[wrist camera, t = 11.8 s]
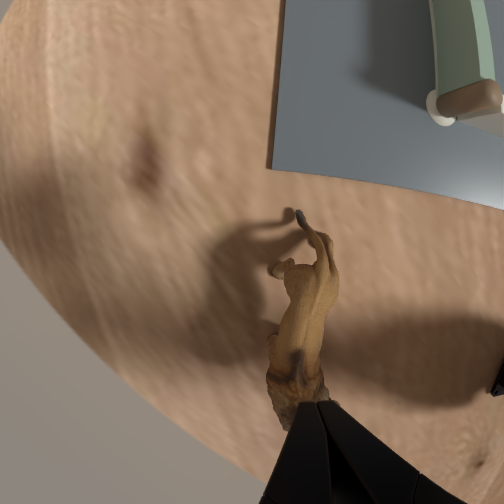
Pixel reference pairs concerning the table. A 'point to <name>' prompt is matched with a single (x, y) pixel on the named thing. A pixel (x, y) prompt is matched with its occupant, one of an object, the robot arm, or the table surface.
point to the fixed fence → (486, 120)
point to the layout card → (380, 100)
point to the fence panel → (464, 58)
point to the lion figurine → (302, 329)
